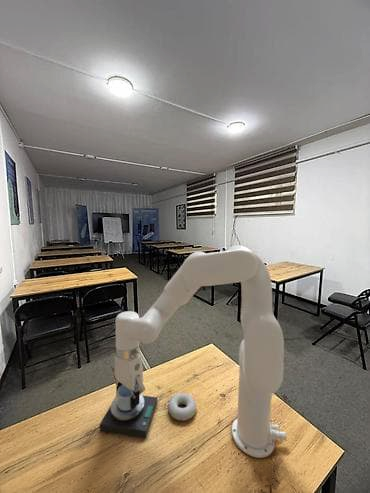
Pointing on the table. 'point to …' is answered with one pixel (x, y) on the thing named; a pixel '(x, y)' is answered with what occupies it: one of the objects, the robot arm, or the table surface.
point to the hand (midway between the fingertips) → (127, 399)
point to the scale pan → (127, 414)
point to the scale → (131, 421)
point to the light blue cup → (124, 398)
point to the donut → (182, 412)
